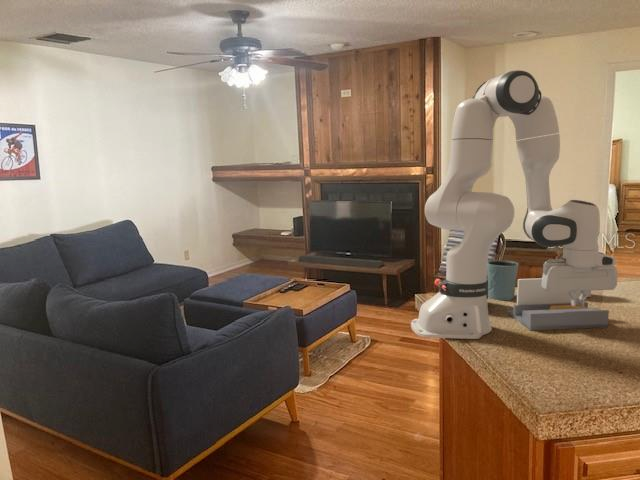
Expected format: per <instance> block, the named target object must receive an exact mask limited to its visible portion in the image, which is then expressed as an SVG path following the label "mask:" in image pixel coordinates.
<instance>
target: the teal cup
mask: <svg viewBox="0 0 640 480" xmlns="http://www.w3.org/2000/svg"><path fill="white" fill-rule="evenodd" d="M519 266H520V264H519V263H518V262H516V261H513V260H502V259H494V260H488V265H487V280H488V286H489V294H488V298H490V299H492V300H497V301H498V300H499V301H510V300H513V299H514V298H515V293H516V289H515V288H516V286H517V285H516V284H517V277H518V271H519Z"/></svg>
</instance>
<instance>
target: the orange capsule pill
mask: <svg viewBox="0 0 640 480" xmlns="http://www.w3.org/2000/svg"><path fill="white" fill-rule="evenodd" d="M579 308H586V307H585V306H572V305H558V306H551V307H550V308H549V310H553V309H579Z"/></svg>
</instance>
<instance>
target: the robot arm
mask: <svg viewBox="0 0 640 480" xmlns="http://www.w3.org/2000/svg"><path fill="white" fill-rule="evenodd" d="M503 117H504V118H506V117H508V118H509V119H510V120H511V122H512V124H513V127H514V129H515V132H514V133H515V140H516V141H515V144H516V150H517V153H518V159H519V161H520V164H521V168H522V172H523V173H524V174H523V175H524V179H525V188H526V189H525V190H526V200H527V208H526V212H525V216H524V218H523V223H522V227H523V228H522V229H523V232H524V234H525V235H526V237H527V238H529V239H530V240H532V241H534V242H535V244H538V245H539V246H541V247H543V248H544V247H545V248H553V247H563V249H562V258H549V259H548V260H546V261H545V262H544V263H543V264H542V277H541V278H542V283H541V286H542V288H543V289H544V290H545V291H547V292H565V291H568V295H569V296H570V298H571V305H572V306H584V302H586V300H587V298H588V297H587V296H588V295H589V291H591V292H592V291H611V290H612V291H613V290H615V289H616V288H617V287H618V269H617V268H616V266H615V265H617V258H615V257H614V256H612V255H608V254H605V253H603V252H601V251H599V250H600V249H599V248H600V247H599V244H598V241H599V235H600V234H601V233H600V232H601V216H600V209H599V207H598V206H597V205H596V204H595V203H594V202H590V201H586V200H580V199H571V200H568V201H567V202H566V203H565V204H563V205H561V206H558V207H557V208H554V209H553V208H552V205H551V203H552V202H551V192H550V190H551V189H550V175H551V171H552V169H553V168H554V166H555V164H556V163H557V162H558V160H559V158H560V152H561V135H560V128H559V123H558V122H559V121H558V118H557V113H556V110H555V107H554V104H553V102H552V100H551V99H550V98H549V97H547V96H544V95H542V92H541V90H540V89H539V85H538V82H537V80H536V79H535V77H534V76H533V75H532V74H531V73H530V72H527V71H525V70H511V71H508V72H506V73H503V74H499V75H496V76H494V77H492V78H490V79H489V80H487V81H484V82H483V83H481V84H480V85H479V87H478V88H477V89H476V91H475V92H474V94H473V96H472V98H468V99H465V100H463V101H462V102H460V103H459V104H458V105H457V107H456V108H455V112H454V117H453V121H452V126H451V134H450V147H449V159H448V167H447V171H446V174H445V176H444V179H443V180H442V183H441V184H440V186H439V187H438V189H437V190H436V191H434V192H433V193H432V194H431V195H430V196H429V197H428V198H427V200H426V201H425V204H424V215H425V219H426V221H427V223H429V224H430V225H431V226H434V227H436V228H440V229H442V230H449V231H459V232H463V236H462V240H461V242H460V243H458V244H456V245H453V246H452V247H451V248H450V249H449V250H448V251H447V253H446V256H445V257H446V259H445V261H446V263H445V265H446V267H445V268H446V269H445V272H446V273H445V274H446V275H445V277H446V278H444V279H443V280H441V279H440V278H436V279H435V280H434V285H436V286H437V287H438V292H437V293H435V294H434V295H433V296H432V297H431V298H429V299H427V300H426V301H425V302H423V303H422V304H421V305H420V308H419V311H418V312H419V313H418V318H414V319H412V320H411V321H410V328H411V330H412V331H413V332H414V333H415V334H416V335H417V336H419V337H422V338H428V339H429V338H431V339H463V340H469V339H470V340H477V339H478V340H479V339H481V337H482V336H484V335H487V334H489V333H491V332H492V329H493V327H492V324H491V320H490V316H489V315H490V314H489V308H488V299H489V296H488V294H489V286H488V274H487V273H488V272H487V265H488V261H489V255H490V251H491V249H492V246H493V244H494V243H495V241H496V239H497V238H498V237H499V236H501V234H503V233H505V232H506V231H507V230H509V228H510V227H511V226H512V223H513V222H514V219H515V207H514V205H513V202H512V200H511V199H510V198H509V197H508V196H505V195H502V194H499V193H494V192H487V191H486V192H480V191H478V192H477V191H472V190H473V187H474V185H475V183H476V182H477V180H479V179H480V178H483V176H486V175H487V174H488V173H489V172H490V170H491V168H492V160H493V147H494V146H493V145H494V144H493V143H494V127H495V124H496V121H497V119H498V118H503ZM576 291H580V292H581V293H582V294H581V296H580V297H579V298H578V299H576V298H575V296H574V295H576Z"/></svg>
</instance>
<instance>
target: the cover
mask: <svg viewBox="0 0 640 480" xmlns="http://www.w3.org/2000/svg"><path fill="white" fill-rule="evenodd" d="M541 283H542V277H540V278H518V279H517V285H516V286H517V288H516V289H517V290H516V304H517V305H527V304H553V303H571V298H570V296H569V295H568V291H565V292H547V291H545V290H544V289H543V288H542V286H541ZM581 294H582V293H581V292H580V291H576V295H574V296H575V298H576V299H578V298H579V297H580V296H581Z"/></svg>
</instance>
